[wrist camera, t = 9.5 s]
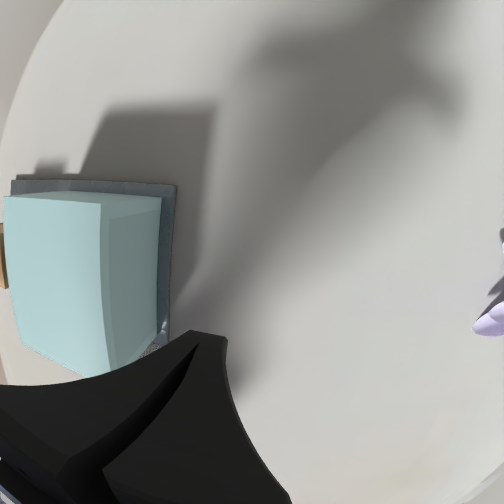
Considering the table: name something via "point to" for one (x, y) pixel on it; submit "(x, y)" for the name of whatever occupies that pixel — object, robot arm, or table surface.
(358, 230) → the table surface
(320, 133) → the table surface
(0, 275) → the oak block
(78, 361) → the cover
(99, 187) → the base plate
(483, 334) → the water lily
